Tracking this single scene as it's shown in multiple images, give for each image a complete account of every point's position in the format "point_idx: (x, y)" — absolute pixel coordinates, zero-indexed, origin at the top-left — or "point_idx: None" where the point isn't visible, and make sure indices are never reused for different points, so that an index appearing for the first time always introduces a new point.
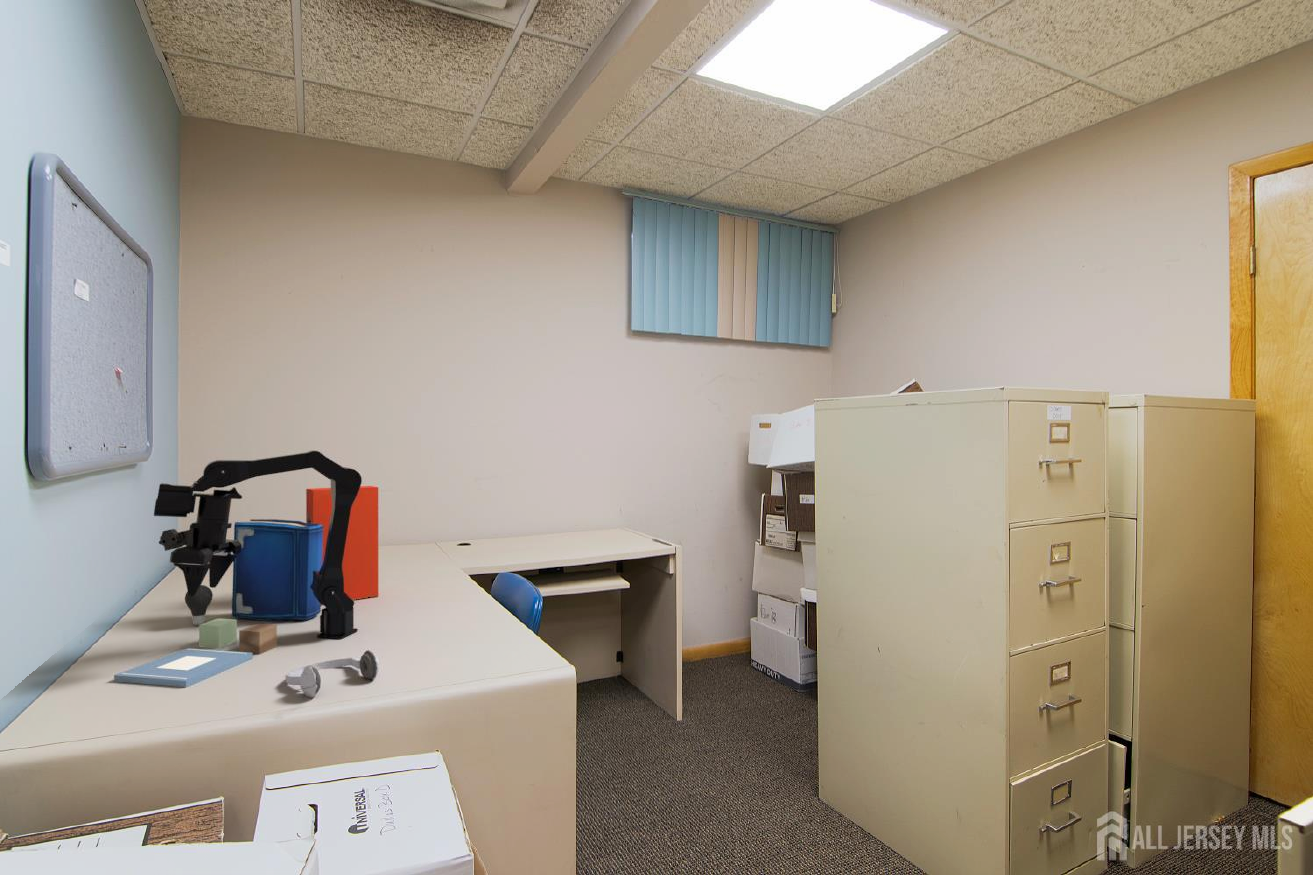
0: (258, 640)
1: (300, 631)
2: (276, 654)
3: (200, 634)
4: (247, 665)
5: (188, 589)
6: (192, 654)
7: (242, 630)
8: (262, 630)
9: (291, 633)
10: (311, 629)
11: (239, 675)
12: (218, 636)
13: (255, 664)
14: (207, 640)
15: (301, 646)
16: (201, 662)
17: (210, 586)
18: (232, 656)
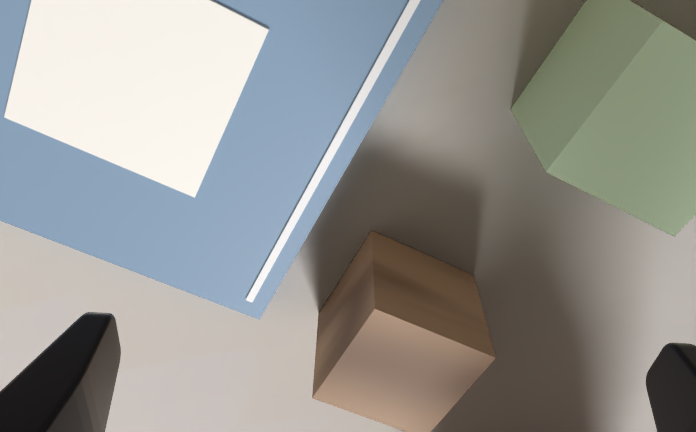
0: (318, 357)
1: (638, 390)
2: (298, 368)
3: (622, 11)
4: (165, 303)
5: (27, 377)
6: (303, 48)
7: (370, 322)
8: (334, 404)
9: (623, 365)
10: (648, 421)
11: (36, 305)
12: (527, 137)
13: (174, 327)
14: (571, 52)
15: (386, 425)
16: (128, 149)
17: (666, 354)
18: (216, 256)
